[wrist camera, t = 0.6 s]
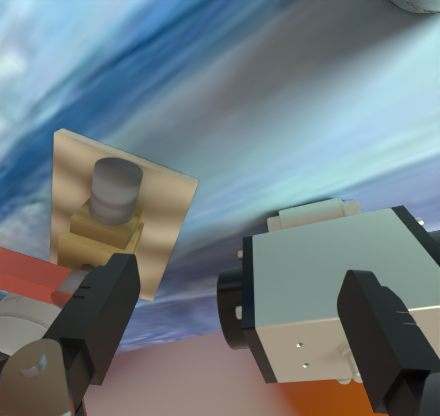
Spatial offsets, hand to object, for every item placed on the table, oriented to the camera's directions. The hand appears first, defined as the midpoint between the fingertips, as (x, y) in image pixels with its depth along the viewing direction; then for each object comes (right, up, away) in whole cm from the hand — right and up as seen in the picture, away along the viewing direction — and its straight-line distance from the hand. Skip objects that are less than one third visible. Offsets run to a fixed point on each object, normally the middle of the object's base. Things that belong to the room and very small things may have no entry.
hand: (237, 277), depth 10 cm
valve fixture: (-14, 0, +24) cm, 28 cm away
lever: (-20, -2, +16) cm, 26 cm away
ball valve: (+10, +2, +21) cm, 23 cm away
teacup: (-28, -12, +34) cm, 46 cm away
